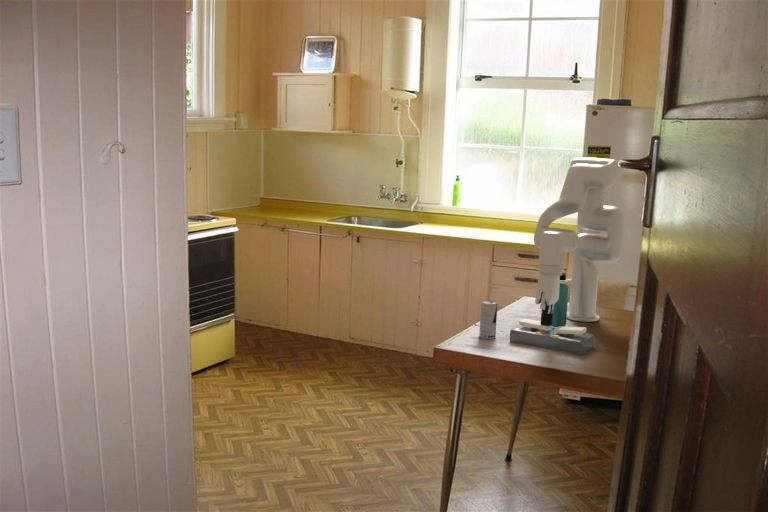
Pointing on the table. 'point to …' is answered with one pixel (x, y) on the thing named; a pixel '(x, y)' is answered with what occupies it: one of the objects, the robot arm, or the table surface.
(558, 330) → the rocker
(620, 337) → the table surface
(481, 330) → the energy drink
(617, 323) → the table surface
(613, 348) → the table surface
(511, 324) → the table surface
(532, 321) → the rocker
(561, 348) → the grey rectangular tray
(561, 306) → the beverage bottle
